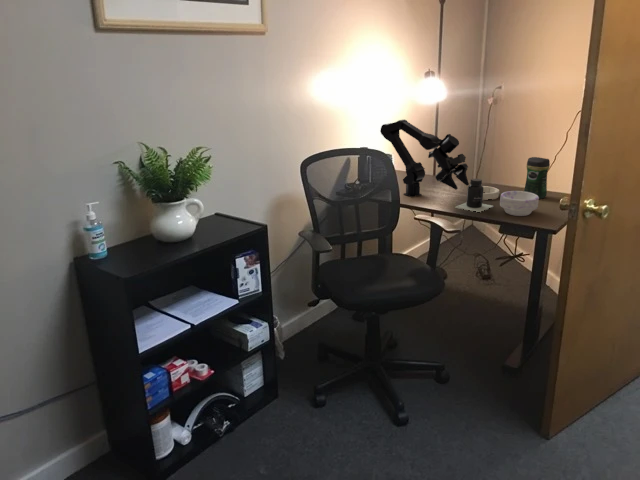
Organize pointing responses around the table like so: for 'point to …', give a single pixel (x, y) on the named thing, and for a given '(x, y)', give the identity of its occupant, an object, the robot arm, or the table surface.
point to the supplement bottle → (475, 194)
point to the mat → (482, 208)
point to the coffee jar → (537, 176)
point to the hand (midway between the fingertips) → (462, 187)
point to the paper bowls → (519, 202)
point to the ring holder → (490, 193)
